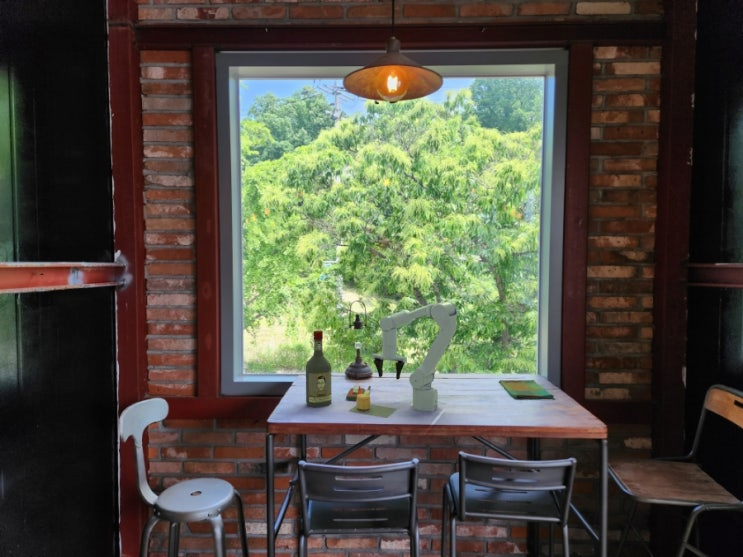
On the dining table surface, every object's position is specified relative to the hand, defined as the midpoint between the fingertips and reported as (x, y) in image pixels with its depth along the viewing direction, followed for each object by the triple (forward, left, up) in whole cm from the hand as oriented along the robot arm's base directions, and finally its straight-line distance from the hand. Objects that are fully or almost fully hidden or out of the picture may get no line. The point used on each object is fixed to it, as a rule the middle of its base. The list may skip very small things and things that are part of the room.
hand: (389, 377), depth 177 cm
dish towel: (-49, -38, -11) cm, 63 cm away
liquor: (+24, +16, -10) cm, 31 cm away
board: (+1, +14, -10) cm, 17 cm away
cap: (+5, +14, -8) cm, 17 cm away
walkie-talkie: (+14, -1, -10) cm, 18 cm away
